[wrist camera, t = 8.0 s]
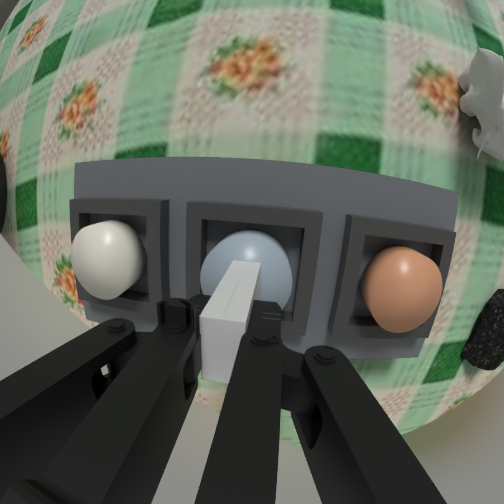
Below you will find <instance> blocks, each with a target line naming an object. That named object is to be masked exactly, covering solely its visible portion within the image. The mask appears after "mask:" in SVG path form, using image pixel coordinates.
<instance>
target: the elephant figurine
mask: <svg viewBox="0 0 504 504" xmlns="http://www.w3.org/2000/svg"><path fill="white" fill-rule="evenodd" d="M458 83H459V86H460V87H461V89H462V90H463V91H464V92H465V93H466V94H465V95H463V96H462V97H461V98H460V102H459V106H460V109H461V111H462V112H464V113H466V114H467V115H468V116H470V117H472V116H476V117H477V118H478V120H479V122H480V125H481V131H480V130H479V129H477V128H474V129H473V133H472V139H473V143H474V144H475V145H476V147H478V148H479V151H478V154H477V160H478V158H479V156H480V153H481V150H482V151H484V152H485V153H487V154H489V155H490V156H492V157H493V158H495V159H497V160H501V161H504V62H503V57H502V56H498V55H497V54H496V53H494V52H493V51H490V50H487V49H483V48H478V47H477V53H476V54H475V56H474V57H473V59H472V61H471V63H470V64H469V65H468V66H467V67H466V68H465V69H464V71H463V72H462V74H461V75H460V77H459V81H458Z"/></svg>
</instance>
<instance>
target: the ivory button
mask: <svg viewBox="0 0 504 504" xmlns="http://www.w3.org/2000/svg"><path fill="white" fill-rule="evenodd" d="M71 261H72V266H73V270H74V273H75V275H76V277H77V279H78V281H79V282H80V284H81V285H82V286H83V288H84V289H85V290H86V291H87V292H89V293H90V294H91V295H93V296H94V297H97V298H99V299H104V300H110V299H114V298H116V297H118V296H119V295H120V294H122V293H123V292H124V291H126V290H127V289H128V288H130V287H131V286H132V285H134V284H135V283H136V282H137V281H138V280H139V279H140V278H141V276H142V275H143V272H144V269H145V264H146V254H145V248H144V245H143V243H142V240H141V238H140V236H139V235H138V233H137V232H136V231H135V230H134V229H133V228H132V227H131V226H130V225H129V224H127V223H125V222H123V221H121V220H116V219H112V220H107V221H103V222H100V223H96V224H93V225H89V226H86V227H84V228H83V229H81V230H80V231H79V232H78V233H77V235H76V236H75V238H74V240H73V243H72V248H71Z"/></svg>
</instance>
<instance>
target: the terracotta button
mask: <svg viewBox="0 0 504 504" xmlns="http://www.w3.org/2000/svg"><path fill="white" fill-rule="evenodd" d="M360 289H361V295H362V299H363V301H364V303H365V304H366V306H367V308H368V309H369V311H370V312H371V314H372V316H373V317H374V319H375V320H376V322H377V323H378V324H379V326H381V327H382V328H383V329H385V330H387V331H389V332H393V333H403V332H408V331H411V330H413V329H415V328H417V327H419V326H420V325H422V324H423V323H424V322H425V321H426V320H427V319H428V318H429V317H430V316H431V315H432V313H433V312H434V311H435V309H436V307H437V305H438V303H439V300H440V297H441V293H442V277H441V273H440V271H439V269H438V267H437V265H436V264H435V263H434V262H433V261H432V260H431V259H429V258H428V257H426V256H424V255H422V254H421V253H419V252H417V251H415V250H414V249H412V248H410V247H407V246H404V245H394V246H390V247H387V248H385V249H383V250H381V251H380V252H378V253H377V254H376V255H375V256H374V257H373V258H372V259H371V260H370V261H369V263H368V264H367V266H366V268H365V269H364V272H363V274H362V278H361V287H360Z"/></svg>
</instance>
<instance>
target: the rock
mask: <svg viewBox="0 0 504 504" xmlns="http://www.w3.org/2000/svg"><path fill="white" fill-rule="evenodd" d="M461 357H462V359H466V360H468V362H469V363H471V364H472V365H473V366H477V367H478V368H481V369H484V370H494V369H496V368H497V367H498V366H499V365H500V364H501V363H502V362H503V361H504V289H498V290H497V292H496V294H495V295H494V296H493V297H492V298H491V299H490V300H489V302H488V304H487V307H486V308H485V309H484V310H483V312H482V313H481V315H480V316H479V318H478V321H477V324H476V326H475V330H474V332H473V334H472V336H471V337H470V340H469V341H468V343H467V344H466V346H465V347H464V349H463V351H462V352H461Z"/></svg>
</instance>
